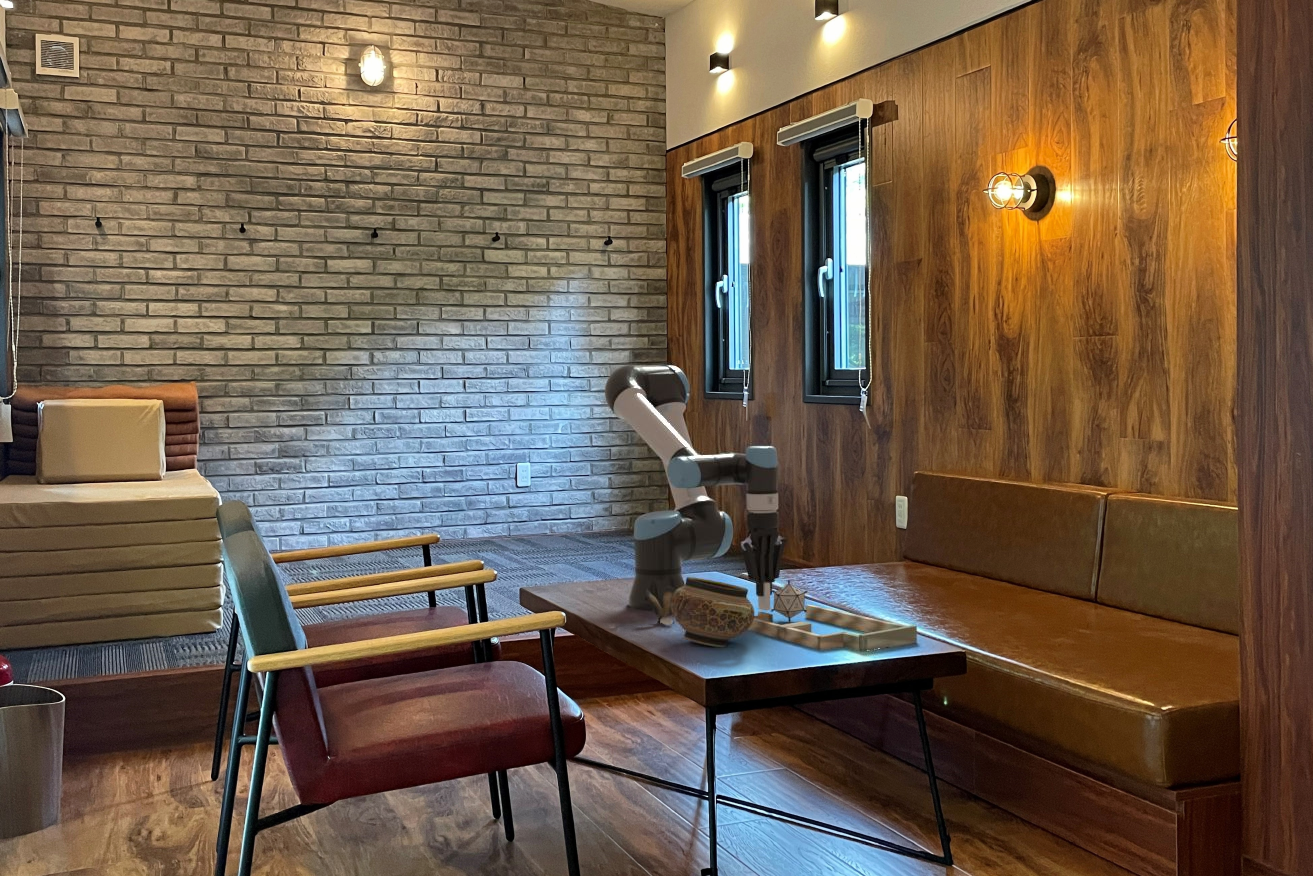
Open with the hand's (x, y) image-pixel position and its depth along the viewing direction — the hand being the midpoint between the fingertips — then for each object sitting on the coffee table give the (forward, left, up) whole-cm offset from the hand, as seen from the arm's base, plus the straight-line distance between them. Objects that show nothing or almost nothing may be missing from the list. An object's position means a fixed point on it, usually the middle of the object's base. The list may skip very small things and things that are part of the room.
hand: (764, 609), depth 291 cm
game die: (+9, 0, -2) cm, 10 cm away
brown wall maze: (+25, 0, -2) cm, 25 cm away
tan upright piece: (-5, -26, -2) cm, 26 cm away
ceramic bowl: (+19, -29, -2) cm, 34 cm away
